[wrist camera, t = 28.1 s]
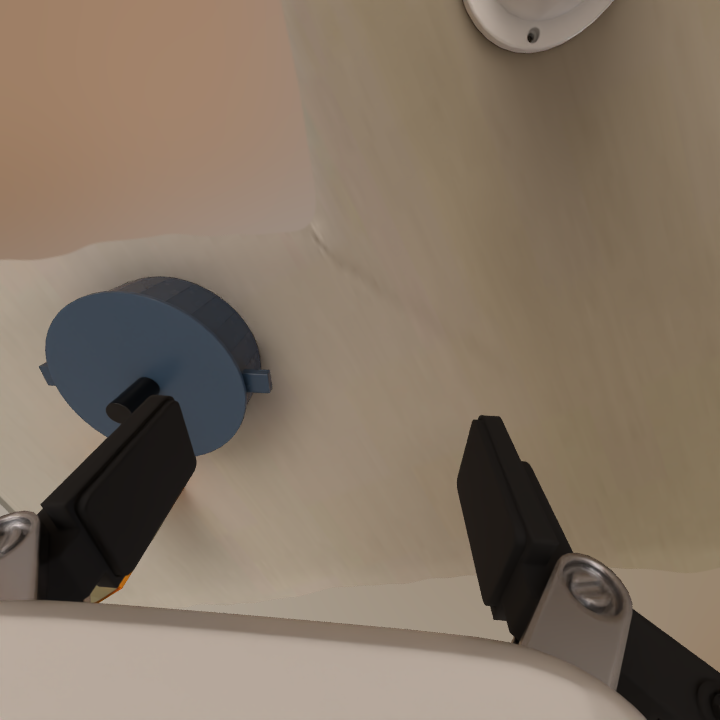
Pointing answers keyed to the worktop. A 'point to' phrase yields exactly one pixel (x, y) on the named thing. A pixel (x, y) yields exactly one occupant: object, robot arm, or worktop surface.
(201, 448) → the lid
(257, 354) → the pot
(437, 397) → the worktop surface
